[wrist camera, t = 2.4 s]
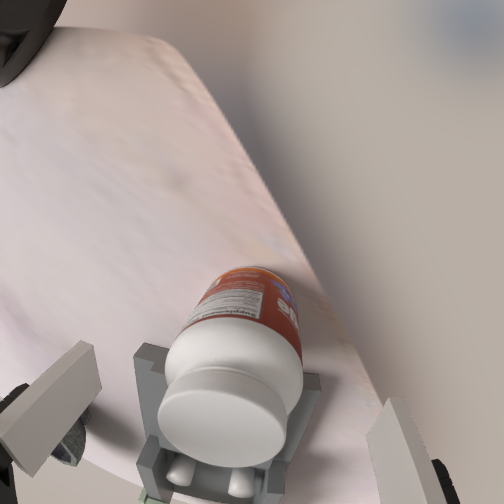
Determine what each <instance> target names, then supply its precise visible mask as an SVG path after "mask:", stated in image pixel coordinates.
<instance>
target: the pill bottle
mask: <svg viewBox="0 0 504 504" xmlns="http://www.w3.org/2000/svg"><path fill="white" fill-rule="evenodd" d="M165 377H166V382H167V385H168V389H167V391H166V394H165V396H164V398H163V400H162V403H161V405H160V407H159V410H158V424H159V427H160V430H161V431H162V433H163V435H164V436H165V437H166V439H167V440H168V441H169V442H170V443H171V444H172V445H173V446H174V447H176V448H177V449H178V450H180V451H181V452H183V453H184V454H186V455H188V456H190V457H192V458H194V459H196V460H199V461H201V462H204V463H208V464H211V465H216V466H222V467H248V466H253V465H257V464H260V463H263V462H266V461H268V460H270V459H271V458H273V457H274V456H275V455H277V454H278V453H279V452H280V451H281V449H282V448H283V446H284V443H285V440H286V428H287V415H288V414H289V413H290V412H291V411H292V410H293V409H294V407H295V406H296V404H297V402H298V400H299V398H300V396H301V393H302V389H303V363H302V353H301V342H300V332H299V324H298V316H297V308H296V302H295V299H294V296H293V294H292V292H291V290H290V289H289V287H288V286H287V284H286V283H285V282H284V281H283V280H282V279H281V278H280V277H278V276H277V275H275V274H274V273H272V272H270V271H268V270H265V269H262V268H258V267H239V268H235V269H232V270H229V271H227V272H225V273H224V274H222V275H221V276H219V277H218V278H217V279H216V280H215V281H214V282H213V283H212V284H211V286H210V287H209V289H208V290H207V292H206V293H205V295H204V296H203V298H202V299H201V301H200V302H199V304H198V305H197V307H196V308H195V310H194V311H193V313H192V315H191V316H190V318H189V319H188V321H187V322H186V324H185V325H184V327H183V328H182V330H181V331H180V333H179V335H178V336H177V338H176V339H175V341H174V342H173V344H172V346H171V348H170V350H169V352H168V354H167V358H166V362H165Z"/></svg>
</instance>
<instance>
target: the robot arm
mask: <svg viewBox="0 0 504 504" xmlns="http://www.w3.org/2000/svg"><path fill="white" fill-rule="evenodd" d="M66 1H67V0H0V88H1V87H3V86H5V85H6V84H8V83H9V82H10V81H11V80H13V79H14V78H15V77H16V76H17V75H18V74H19V73H20V72H21V71H22V70H23V68H24V67H25V66H26V65H27V64H28V63H29V61H30V60H31V59H32V57H33V56H34V55H35V54H36V52H37V51H38V49H39V48H40V47H41V45H42V44H43V42H44V41H45V39H46V38H47V36H48V35H49V33H50V32H51V30H52V28H53V27H54V25H55V23H56V22H57V20H58V18H59V16H60V14H61V13H62V10H63V8H64V6H65V4H66ZM101 389H102V386H101V382H100V377H99V373H98V368H97V363H96V358H95V352H94V346H93V345H92V344H89V343H86V342H84V341H81V340H80V341H79V342H78V343H77V344H76V345H75V346H74V347H72V348H71V349H70V350H69V351H68V352H67V353H66V354H64V355H63V356H62V357H61V358H60V359H59V360H58V361H57V362H55V363H54V364H53V365H52V366H51V367H50V368H49V369H48V370H47V371H45V372H44V373H43V374H42V375H41V376H40V377H39V378H38V379H37V380H36V381H34V382H33V383H32V384H31V385H28V384H27V383H25V384H22V385H20V386H18V387H16V388H15V389H14V390H13V391H12V392H10V393H9V395H7V396H6V397H5V398H4V399H3V401H1V402H0V504H18V502H17V497H16V490H15V483H14V474H13V467H12V464H11V463H12V461H14V462H15V463H16V464H17V466H18V467H19V468H20V469H21V470H23V471H24V472H25V473H26V474H28V475H29V476H31V477H32V478H33V477H34V475H35V474H36V473H37V471H38V470H39V468H40V467H41V466H42V465H43V463H44V462H45V461H46V459H47V457H49V455H50V454H51V453H52V451H53V450H54V449H55V448H56V446H57V445H58V444H59V442H60V441H61V440H62V438H63V437H64V436H65V435H66V433H67V432H68V431H69V429H70V428H71V427H72V426H73V424H74V423H75V422H76V421H77V419H78V418H79V417H80V416H81V414H82V413H83V412H84V411H85V409H86V408H87V407H88V406H89V404H90V403H91V402H92V401H93V399H94V398H95V397H96V396H97V394H98V393H99V392H100V391H101ZM366 439H367V443H368V447H369V451H370V455H371V459H372V463H373V468H374V472H375V476H376V481H377V485H378V490H379V495H380V499H381V504H460V501H459V499H458V496H457V493H456V491H455V489H454V486H452V484H453V483H452V481H451V478H449V473H448V471H447V469H446V467H445V465H444V464H442V462H441V461H440V460H439V459H435V460H431V459H430V457H429V455H428V452H427V450H426V447H425V445H424V443H423V440H422V438H421V436H420V433H419V431H418V429H417V427H416V424H415V422H414V420H413V417H412V415H411V413H410V411H409V409H408V407H407V404H406V402H405V400H404V398H403V397H389V398H388V400H387V402H386V403H385V405H384V407H383V409H382V410H381V412H380V414H379V416H378V417H377V419H376V421H375V423H374V424H373V426H372V428H371V429H370V431H369V432H368V434H367V436H366Z"/></svg>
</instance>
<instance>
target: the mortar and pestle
mask: <svg viewBox="0 0 504 504" xmlns="http://www.w3.org/2000/svg"><path fill="white" fill-rule="evenodd" d="M89 417H90V413H89V412H88V410H87V408H86V409H85V411H84V412H83V413H82V414H81V416H80V417H79V418H78V419H77V421H76V422H75V423H74V424H73V426H72V427H71V428H70V429H69V431H68V432H67V433H66V435H65V436H64V437H63V438H62V440H61V441H60V442H59V444H58V445H57V446H56V448H55V449H54V450H53V451H52V453H51V454H50V455H51V456H52V457H54V458H55V459H57V460H58V461H60V462H62V463H63V464H67V465H71V466H75V467H76V466H77V464H78V463H79V461H80V460H81V457H82V455H83V452H84V449H85V443H86V430H85V427H84V425H86V424H87V422H88V421H89Z"/></svg>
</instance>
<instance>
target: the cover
mask: <svg viewBox="0 0 504 504" xmlns="http://www.w3.org/2000/svg"><path fill="white" fill-rule="evenodd" d="M138 500H139V502H140V504H166V503H163V502H160V501H156V500H153V499H150V498H149V497H148V494H147V492H146V489H145V487H144V488H143V490H142V492H141V495H140V497H139V499H138Z"/></svg>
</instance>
